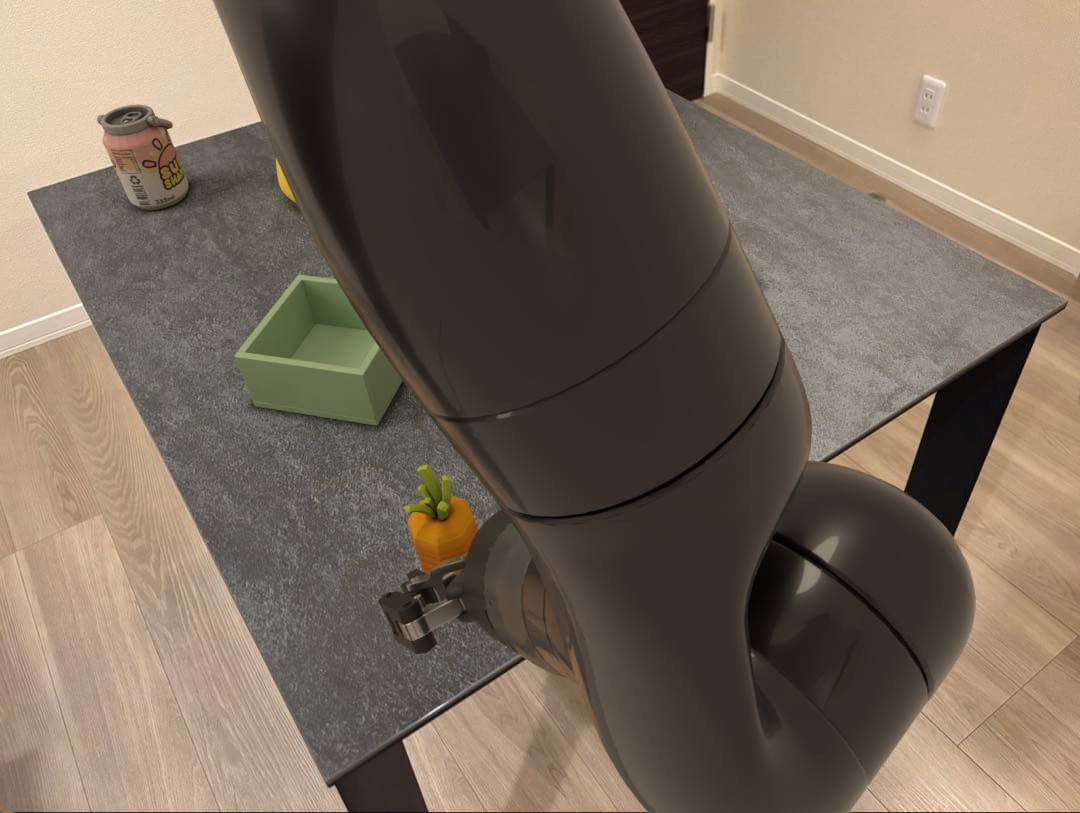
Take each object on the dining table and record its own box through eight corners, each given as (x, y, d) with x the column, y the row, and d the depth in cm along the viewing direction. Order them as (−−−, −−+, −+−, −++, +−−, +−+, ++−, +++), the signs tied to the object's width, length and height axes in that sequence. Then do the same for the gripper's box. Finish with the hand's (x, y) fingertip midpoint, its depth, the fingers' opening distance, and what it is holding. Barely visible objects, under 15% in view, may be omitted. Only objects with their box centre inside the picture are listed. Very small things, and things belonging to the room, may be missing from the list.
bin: (377, 426, 81) (363, 375, 76) (254, 406, 84) (233, 356, 79) (426, 338, 90) (416, 288, 85) (314, 323, 93) (298, 274, 89)
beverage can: (151, 177, 120) (117, 97, 112) (205, 179, 119) (174, 98, 111) (119, 211, 114) (80, 129, 106) (175, 213, 113) (140, 130, 104)
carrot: (488, 627, 64) (465, 507, 54) (425, 628, 65) (390, 509, 54) (492, 573, 68) (470, 450, 57) (432, 575, 68) (400, 452, 58)
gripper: (659, 443, 40) (549, 455, 55) (387, 581, 35) (349, 552, 50) (721, 584, 40) (594, 557, 55) (459, 739, 35) (400, 663, 51)
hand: (477, 555), depth 53 cm, fingers open, 8 cm apart
